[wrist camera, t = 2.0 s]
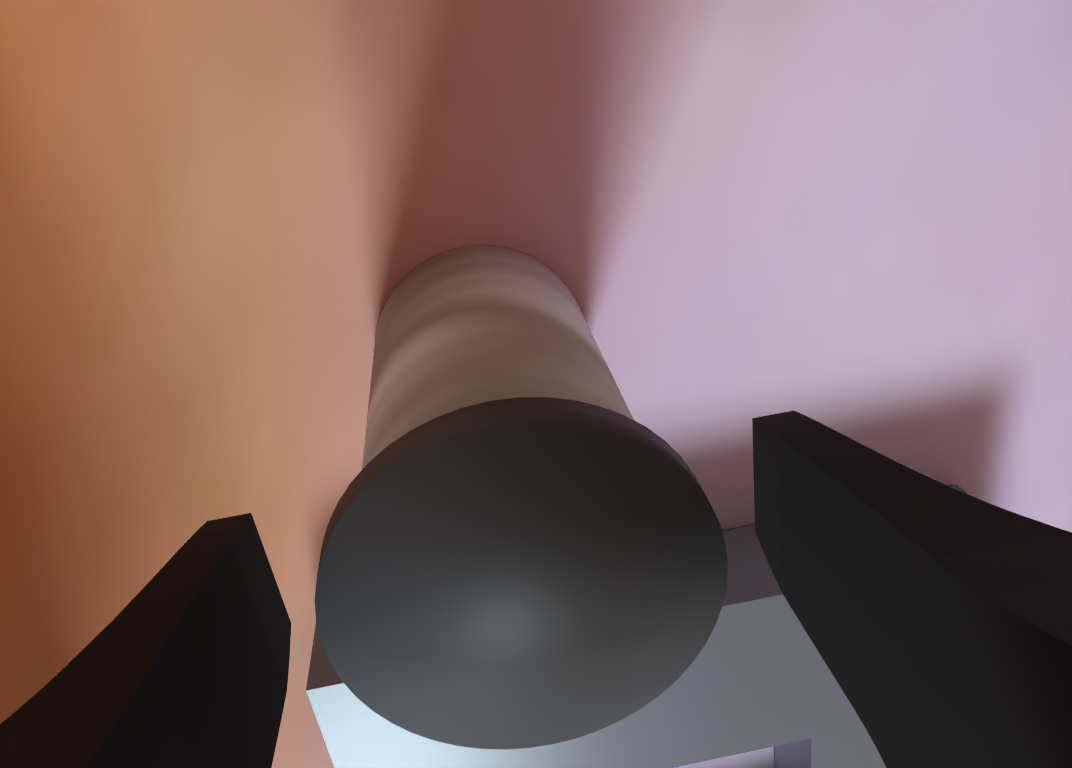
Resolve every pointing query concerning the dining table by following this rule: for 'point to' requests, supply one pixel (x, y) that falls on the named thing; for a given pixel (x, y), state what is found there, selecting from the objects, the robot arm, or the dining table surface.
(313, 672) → the socket block
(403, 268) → the dining table surface
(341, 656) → the capped peg
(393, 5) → the dining table surface
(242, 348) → the dining table surface
